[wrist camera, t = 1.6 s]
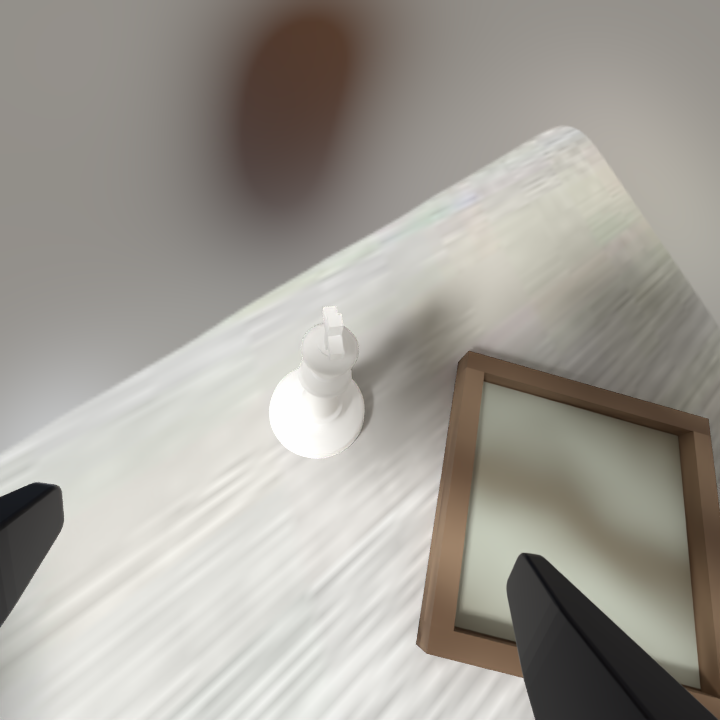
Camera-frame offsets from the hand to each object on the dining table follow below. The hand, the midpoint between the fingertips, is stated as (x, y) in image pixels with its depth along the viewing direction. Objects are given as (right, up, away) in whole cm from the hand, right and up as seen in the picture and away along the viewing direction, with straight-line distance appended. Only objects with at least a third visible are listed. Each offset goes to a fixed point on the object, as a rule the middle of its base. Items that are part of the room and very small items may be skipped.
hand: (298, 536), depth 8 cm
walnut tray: (+12, -5, +13) cm, 18 cm away
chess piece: (-1, +1, +14) cm, 14 cm away
